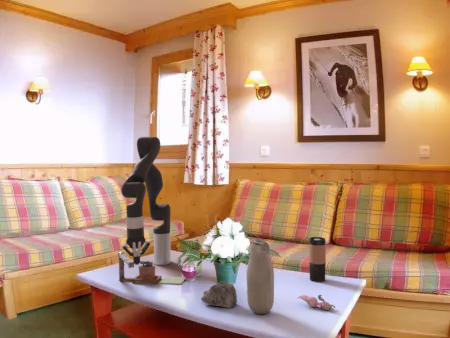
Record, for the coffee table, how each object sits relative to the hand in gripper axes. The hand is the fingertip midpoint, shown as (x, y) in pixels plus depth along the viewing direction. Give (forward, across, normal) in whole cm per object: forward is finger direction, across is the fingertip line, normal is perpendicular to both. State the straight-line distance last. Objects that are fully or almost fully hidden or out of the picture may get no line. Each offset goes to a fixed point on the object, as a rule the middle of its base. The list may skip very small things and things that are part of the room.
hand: (136, 264), depth 184 cm
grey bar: (+1, +3, -8) cm, 9 cm away
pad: (+12, -18, -5) cm, 22 cm away
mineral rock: (+12, -26, +33) cm, 44 cm away
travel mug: (+13, -81, +25) cm, 86 cm away
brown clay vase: (+12, -37, +47) cm, 61 cm away
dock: (+12, -3, -12) cm, 17 cm away
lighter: (+12, -7, -10) cm, 17 cm away
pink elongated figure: (+13, -59, +52) cm, 80 cm away
